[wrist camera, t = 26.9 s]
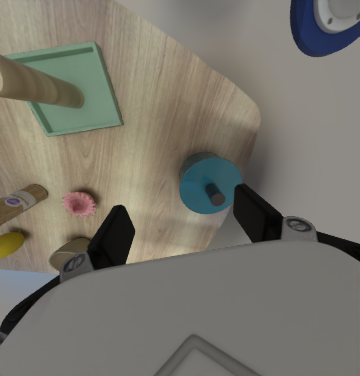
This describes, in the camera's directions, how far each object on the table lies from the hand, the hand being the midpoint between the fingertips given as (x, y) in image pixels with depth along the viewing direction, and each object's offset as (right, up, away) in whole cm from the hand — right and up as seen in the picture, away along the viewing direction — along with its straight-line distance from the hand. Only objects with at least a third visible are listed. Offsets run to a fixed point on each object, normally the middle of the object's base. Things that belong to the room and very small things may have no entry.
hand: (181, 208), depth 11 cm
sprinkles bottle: (-37, +1, +22) cm, 43 cm away
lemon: (-48, -12, +28) cm, 57 cm away
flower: (-25, -1, +24) cm, 35 cm away
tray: (-21, +20, +14) cm, 32 cm away
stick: (-21, +19, +14) cm, 32 cm away
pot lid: (+7, +2, +17) cm, 19 cm away
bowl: (-32, -16, +32) cm, 48 cm away
